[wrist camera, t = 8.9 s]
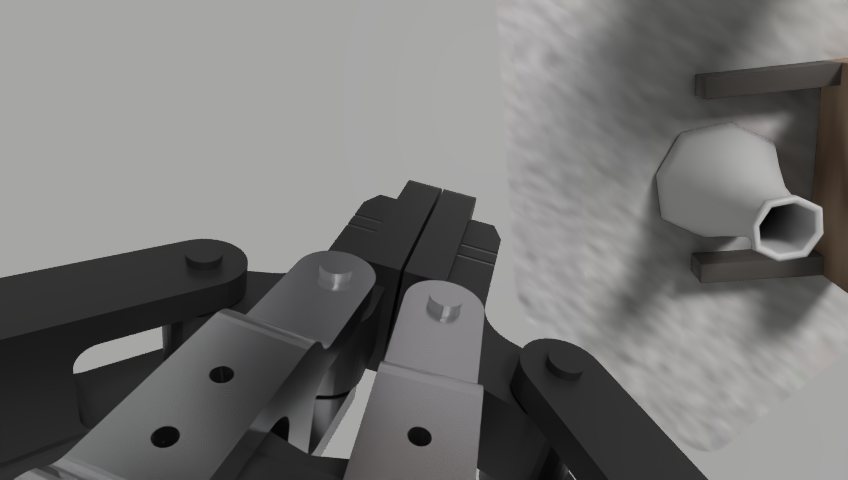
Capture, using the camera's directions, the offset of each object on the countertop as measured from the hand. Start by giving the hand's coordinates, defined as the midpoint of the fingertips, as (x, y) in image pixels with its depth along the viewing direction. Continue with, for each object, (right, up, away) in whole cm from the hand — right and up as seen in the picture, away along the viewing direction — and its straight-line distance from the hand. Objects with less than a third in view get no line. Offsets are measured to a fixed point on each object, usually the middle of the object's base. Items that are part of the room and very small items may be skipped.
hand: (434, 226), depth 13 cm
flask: (+18, +3, +25) cm, 31 cm away
